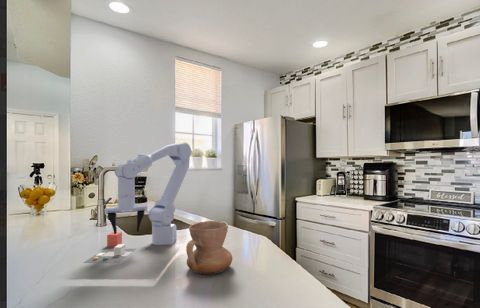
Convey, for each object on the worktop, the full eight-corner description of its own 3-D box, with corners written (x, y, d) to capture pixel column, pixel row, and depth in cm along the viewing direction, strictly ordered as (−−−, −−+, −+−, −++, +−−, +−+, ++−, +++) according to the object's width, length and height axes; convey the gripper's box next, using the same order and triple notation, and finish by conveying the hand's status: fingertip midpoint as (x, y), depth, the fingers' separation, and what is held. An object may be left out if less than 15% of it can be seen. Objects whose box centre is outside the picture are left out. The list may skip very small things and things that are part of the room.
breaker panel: (136, 252, 103) (136, 247, 103) (118, 267, 89) (118, 260, 89) (105, 252, 103) (105, 247, 103) (82, 267, 89) (82, 260, 89)
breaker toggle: (125, 251, 98) (125, 244, 99) (120, 255, 95) (120, 247, 95) (119, 251, 99) (118, 244, 99) (114, 255, 95) (114, 247, 95)
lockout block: (121, 247, 110) (121, 232, 110) (117, 250, 106) (117, 234, 106) (112, 247, 110) (112, 232, 110) (107, 250, 106) (107, 235, 106)
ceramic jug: (211, 256, 97) (210, 217, 97) (243, 264, 88) (242, 221, 89) (171, 274, 83) (169, 228, 83) (205, 287, 74) (203, 235, 74)
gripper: (147, 193, 106) (147, 227, 106) (106, 195, 101) (106, 231, 101) (147, 195, 99) (147, 232, 99) (103, 197, 94) (103, 236, 94)
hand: (126, 232), depth 99 cm, fingers open, 7 cm apart
